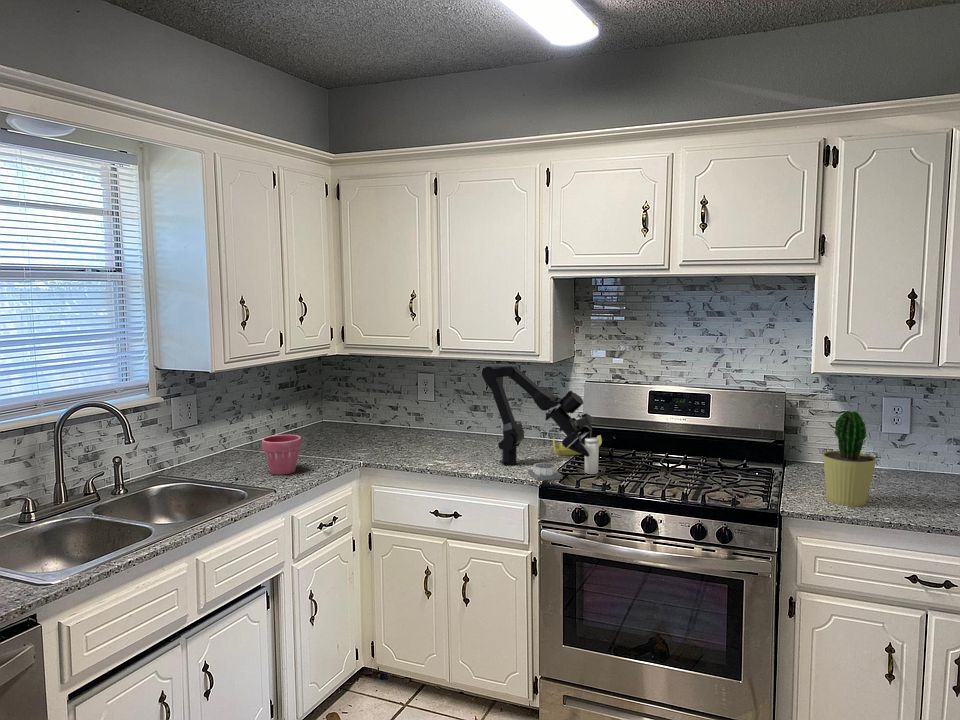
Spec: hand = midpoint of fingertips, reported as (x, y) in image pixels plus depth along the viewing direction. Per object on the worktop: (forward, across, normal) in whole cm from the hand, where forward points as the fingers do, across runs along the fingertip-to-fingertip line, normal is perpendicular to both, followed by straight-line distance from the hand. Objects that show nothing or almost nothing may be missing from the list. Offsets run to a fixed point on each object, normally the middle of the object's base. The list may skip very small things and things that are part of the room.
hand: (592, 453), depth 266 cm
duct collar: (-5, -12, +15) cm, 20 cm away
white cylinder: (+5, 0, +6) cm, 8 cm away
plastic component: (-6, +28, +17) cm, 33 cm away
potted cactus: (+65, +5, -53) cm, 84 cm away
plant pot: (-68, -49, +79) cm, 115 cm away
